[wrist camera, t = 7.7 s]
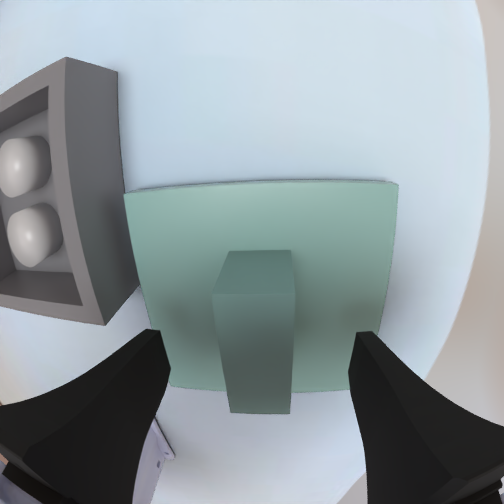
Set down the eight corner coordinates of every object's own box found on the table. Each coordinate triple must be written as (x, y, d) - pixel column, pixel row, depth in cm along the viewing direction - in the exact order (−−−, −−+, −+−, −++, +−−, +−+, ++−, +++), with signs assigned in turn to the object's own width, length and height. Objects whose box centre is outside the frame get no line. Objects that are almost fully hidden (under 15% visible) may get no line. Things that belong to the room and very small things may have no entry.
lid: (358, 372, 16) (374, 435, 11) (177, 370, 17) (153, 430, 12) (386, 179, 11) (442, 204, 7) (137, 188, 12) (74, 216, 8)
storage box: (141, 282, 14) (105, 325, 11) (20, 276, 15) (-15, 302, 12) (117, 71, 10) (66, 56, 7) (-6, 127, 11) (-48, 134, 8)
